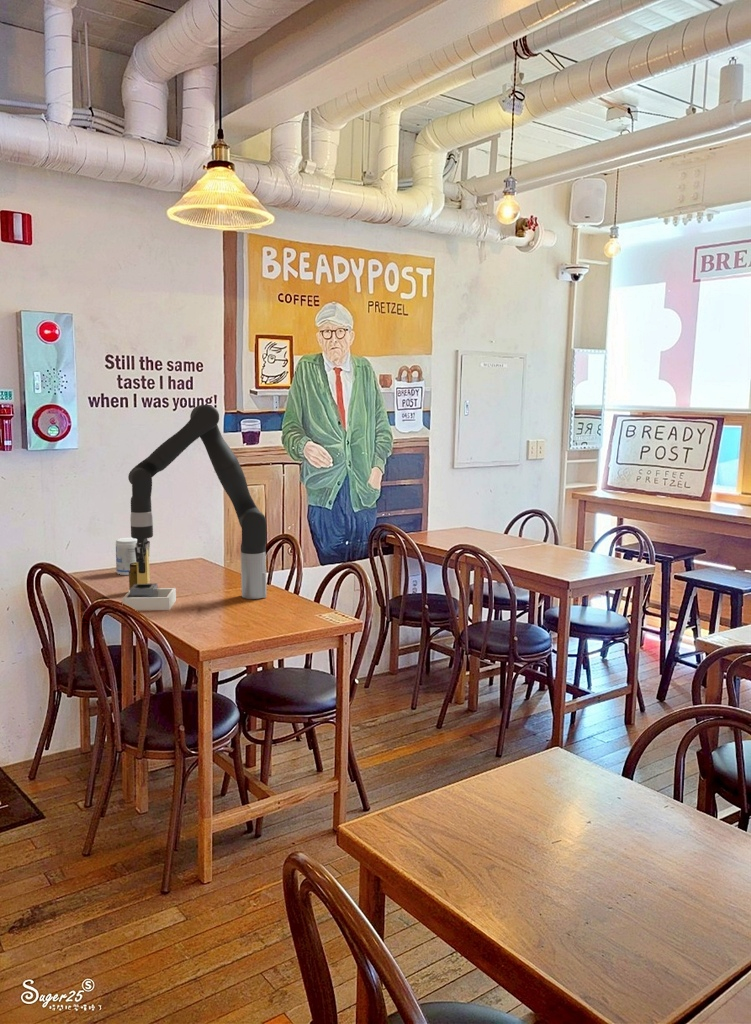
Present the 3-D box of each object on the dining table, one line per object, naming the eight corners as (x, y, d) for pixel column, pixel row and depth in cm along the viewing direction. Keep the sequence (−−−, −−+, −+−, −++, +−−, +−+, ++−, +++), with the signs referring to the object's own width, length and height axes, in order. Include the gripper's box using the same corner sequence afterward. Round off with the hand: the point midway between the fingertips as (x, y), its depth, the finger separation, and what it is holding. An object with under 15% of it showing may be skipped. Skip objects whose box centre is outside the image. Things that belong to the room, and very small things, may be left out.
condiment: (142, 591, 314) (141, 560, 312) (152, 595, 308) (151, 564, 306) (124, 594, 310) (123, 563, 308) (133, 598, 303) (132, 567, 301)
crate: (176, 601, 299) (175, 588, 298) (169, 611, 285) (168, 597, 284) (131, 601, 298) (131, 588, 297) (123, 612, 284) (122, 598, 283)
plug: (149, 581, 292) (148, 549, 290) (147, 584, 288) (146, 551, 287) (139, 581, 292) (138, 549, 290) (137, 584, 288) (136, 551, 286)
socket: (158, 602, 296) (157, 583, 294) (153, 607, 288) (152, 588, 287) (135, 602, 295) (134, 583, 294) (130, 608, 287) (129, 588, 286)
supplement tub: (112, 573, 344) (110, 539, 341) (131, 569, 351) (130, 536, 349) (125, 576, 338) (124, 542, 336) (144, 573, 345) (143, 539, 343)
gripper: (148, 527, 280) (150, 576, 283) (156, 520, 294) (157, 567, 297) (126, 527, 280) (128, 576, 282) (135, 521, 294) (136, 567, 296)
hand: (143, 571), depth 289 cm, fingers closed on plug, 3 cm apart
